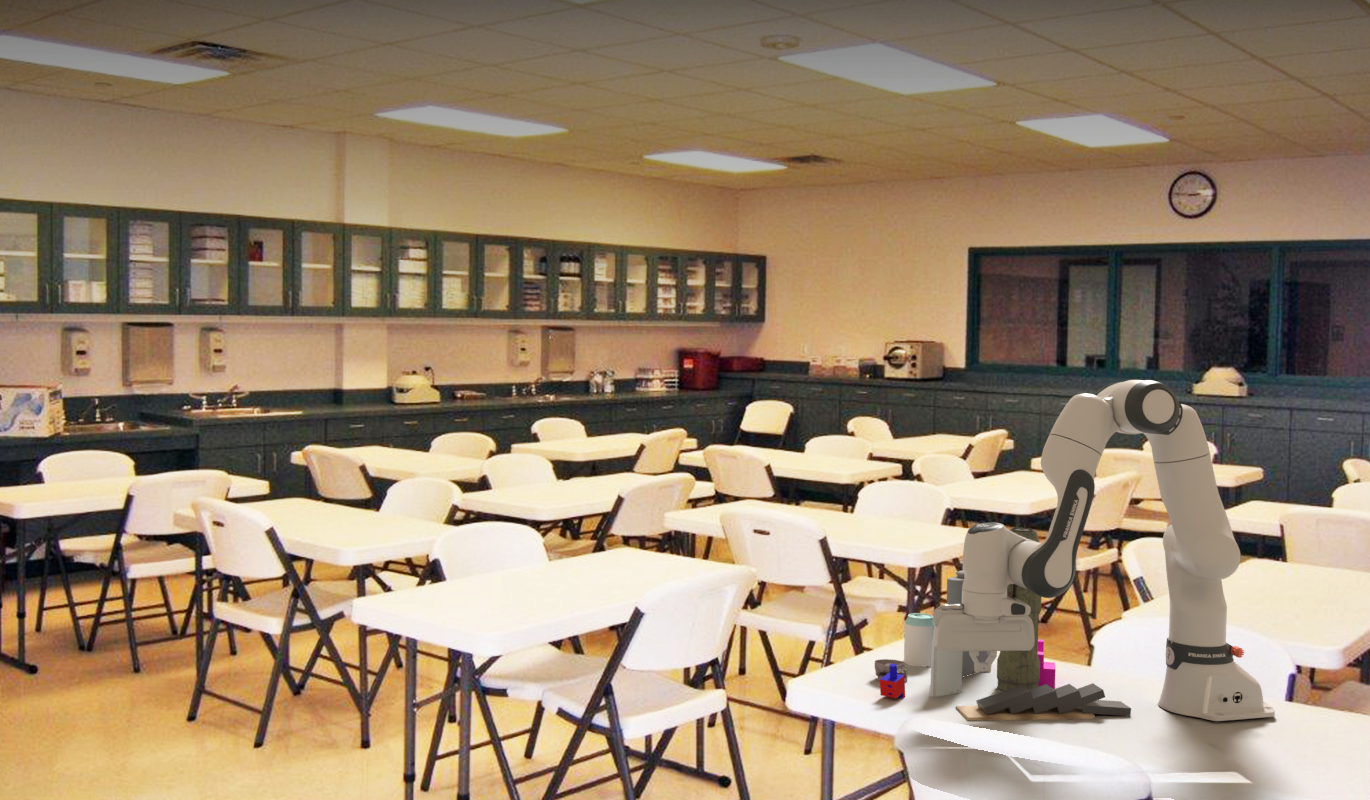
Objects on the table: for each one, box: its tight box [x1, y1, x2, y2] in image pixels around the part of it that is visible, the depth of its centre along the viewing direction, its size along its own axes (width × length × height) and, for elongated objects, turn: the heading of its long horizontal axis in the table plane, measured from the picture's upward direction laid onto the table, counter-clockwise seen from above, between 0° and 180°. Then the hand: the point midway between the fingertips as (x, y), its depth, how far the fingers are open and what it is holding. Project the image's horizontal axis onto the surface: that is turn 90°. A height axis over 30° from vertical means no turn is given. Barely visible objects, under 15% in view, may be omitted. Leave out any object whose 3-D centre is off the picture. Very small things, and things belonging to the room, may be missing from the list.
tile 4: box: [1052, 682, 1106, 714], centre depth 263 cm, size 2×5×10 cm
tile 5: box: [1076, 699, 1132, 717], centre depth 264 cm, size 2×5×10 cm
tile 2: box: [1005, 684, 1058, 715], centre depth 262 cm, size 2×5×10 cm
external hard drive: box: [929, 643, 963, 698], centre depth 275 cm, size 2×8×12 cm, turn 123°
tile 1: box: [975, 685, 1033, 715], centre depth 262 cm, size 2×5×10 cm
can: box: [903, 612, 935, 668], centre depth 299 cm, size 7×7×12 cm
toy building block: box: [879, 664, 906, 699], centre depth 270 cm, size 4×4×8 cm
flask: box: [946, 569, 989, 678], centre depth 293 cm, size 17×5×25 cm, turn 141°
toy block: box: [1038, 638, 1056, 689], centre depth 290 cm, size 15×6×8 cm, turn 165°
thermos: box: [996, 527, 1042, 692], centre depth 279 cm, size 9×12×35 cm
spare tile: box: [1029, 683, 1081, 714], centre depth 263 cm, size 2×5×10 cm
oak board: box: [955, 705, 1096, 721], centre depth 262 cm, size 26×8×1 cm, turn 96°
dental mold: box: [874, 658, 908, 684], centre depth 283 cm, size 8×7×5 cm
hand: (982, 672), depth 261 cm, fingers closed
